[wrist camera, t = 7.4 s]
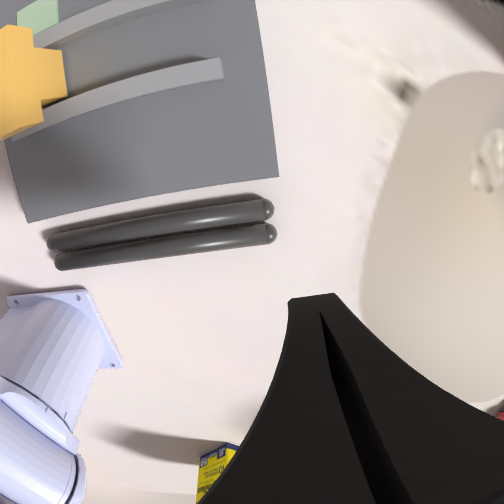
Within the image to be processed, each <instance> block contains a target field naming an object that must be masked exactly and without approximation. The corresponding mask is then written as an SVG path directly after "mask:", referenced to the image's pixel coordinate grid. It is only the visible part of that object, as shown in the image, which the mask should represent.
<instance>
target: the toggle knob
mask: <svg viewBox="0 0 504 504" xmlns="http://www.w3.org/2000/svg"><path fill="white" fill-rule="evenodd" d="M66 97H68V94H67V87H66V81H65V74H64V66H63V58H62V51H60V50H53V49H44V48H34V44H33V30H32V28H28V27H21V26H15V25H8V24H7V25H6V26H4V27H3V28H1V29H0V141H3V140H5V139H7V138H9V137H11V136H13V135H15V134H17V133H19V132H21V131H24V130H26V129H28V128H30V127H32V126H35V125H37V124H39V123H41V122H44V118H43V113H42V107H44V106H47V105H49V104H51V103H54V102H56V101H58V100H61V99H63V98H66Z"/></svg>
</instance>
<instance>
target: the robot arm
mask: <svg viewBox="0 0 504 504" xmlns="http://www.w3.org/2000/svg"><path fill="white" fill-rule="evenodd" d="M77 295H78V296H80V297H78V296H77ZM6 303H7V305H8V307H9V308H10V309H9V310H8V311H7V312H6V314H5V315H4V316H3V317H2V319H1V320H0V504H81V502H82V500H83V497H84V494H85V490H86V483H87V475H86V467H85V463H84V460H83V458H82V457H81V455H79V454H78V453H77V449H78V446H79V443H80V440H79V439H77V438H76V437H75V436H74V435H73V432H74V429H75V426H76V424H77V421H78V418H79V416H80V413H81V410H82V408H83V405H84V403H85V400H86V397H87V395H88V392H89V390H90V387H91V385H92V383H93V380H94V378H95V375H96V373H97V371H98V368H113V369H120V368H122V367H123V364H124V363H123V361H122V359H121V357H120V355H119V353H118V351H117V349H116V347H115V345H114V344H113V342H112V340H111V338H110V336H109V334H108V332H107V330H106V328H105V326H104V323H103V321H102V319H101V317H100V315H99V313H98V311H97V309H96V306H95V304H94V302H93V300H92V298H91V295H90V293H89V292H88V291H87V290H85V289H77V290H67V291H56V292H46V293H35V294H24V295H12V296H8V297H7V298H6ZM197 504H504V421H503V420H501V419H498V418H496V417H494V416H492V415H489V414H487V413H485V412H483V411H481V410H479V409H477V408H475V407H473V406H471V405H469V404H467V403H466V402H464V401H462V400H460V399H459V398H457V397H455V396H453V395H452V394H450V393H448V392H447V391H445V390H443V389H441V388H440V387H438V386H437V385H435V384H434V383H432V382H431V381H429V380H428V379H427V378H425V377H424V376H423V375H421V374H420V373H418V372H417V371H416V370H414V369H413V368H412V367H410V366H409V365H408V364H407V363H406V362H404V361H403V360H402V359H401V358H399V357H398V356H397V355H396V354H395V353H394V352H393V351H391V350H390V349H389V348H388V347H387V346H386V345H385V344H384V343H383V342H381V341H380V340H379V339H378V338H377V337H376V336H375V335H374V334H373V333H372V332H371V331H370V330H369V329H368V328H367V327H366V326H365V325H364V324H363V323H362V322H361V321H360V320H359V319H358V318H357V317H356V316H355V315H354V314H353V313H352V312H351V310H350V309H349V308H348V307H347V306H346V305H345V304H344V303H343V302H342V300H341V299H340V298H339V297H338V296H337V295H336V294H335V293H328V294H321V295H314V296H307V297H300V298H292V299H290V300H289V301H288V323H287V330H286V335H285V339H284V344H283V348H282V352H281V356H280V359H279V362H278V365H277V368H276V371H275V374H274V377H273V380H272V382H271V385H270V387H269V390H268V392H267V395H266V397H265V399H264V401H263V404H262V406H261V408H260V410H259V412H258V414H257V416H256V418H255V420H254V422H253V424H252V425H251V427H250V429H249V431H248V433H247V435H246V436H245V438H244V440H243V441H242V443H241V445H240V446H239V448H238V449H237V451H236V452H235V454H234V455H233V457H232V458H231V460H230V461H229V463H228V464H227V466H226V467H225V469H224V470H223V471H222V473H221V474H220V476H219V477H218V478H217V480H216V481H215V482H214V484H213V485H212V486H211V487H210V489H209V490H208V491H207V492H206V493H205V495H204V496H203V497H202V498H201V499H200V500H199V501H198V503H197Z"/></svg>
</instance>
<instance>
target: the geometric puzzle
mask: <svg viewBox="0 0 504 504" xmlns="http://www.w3.org/2000/svg"><path fill="white" fill-rule="evenodd" d="M501 410H502V409H501ZM497 413H498V419H501V420H503V421H504V412H503V411H500V412H499V411H498V412H497Z"/></svg>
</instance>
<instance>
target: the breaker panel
mask: <svg viewBox="0 0 504 504" xmlns="http://www.w3.org/2000/svg"><path fill="white" fill-rule="evenodd" d="M7 24H8V25H15V26H21V27H28V28H32V30H33V44H34V48H44V49H53V50H60V51H62V58H63V66H64V74H65V81H66V87H67V94H68V97H66V98H63V99H61V100H58V101H56V102H54V103H51V104H49V105H47V106H44V107H42V113H43V118H44V122H41V123H39V124H37V125H35V126H32V127H30V128H28V129H26V130H24V131H21V132H19V133H17V134H15V135H13V136H11V137H9V138H7V139H5V145H6V149H7V154H8V158H9V162H10V166H11V170H12V174H13V177H14V181H15V185H16V188H17V191H18V195H19V198H20V201H21V204H22V208H23V211H24V214H25V217H26V220H27V222H28V223H32V222H36V221H40V220H44V219H48V218H52V217H56V216H60V215H64V214H69V213H73V212H77V211H82V210H86V209H90V208H95V207H100V206H104V205H109V204H114V203H119V202H124V201H129V200H134V199H139V198H144V197H149V196H155V195H160V194H166V193H172V192H178V191H183V190H189V189H196V188H202V187H208V186H215V185H222V184H228V183H235V182H243V181H250V180H258V179H266V178H274V177H279V172H278V163H277V155H276V146H275V138H274V130H273V122H272V114H271V107H270V99H269V92H268V84H267V77H266V70H265V63H264V56H263V49H262V43H261V36H260V30H259V23H258V17H257V11H256V5H255V0H0V29H1V28H3V27H4V26H6V25H7ZM273 213H274V206H273V204H272V202H270V201H269V200H267V199H257V200H249V201H242V202H235V203H227V204H220V205H213V206H207V207H200V208H193V209H187V210H180V211H174V212H168V213H162V214H156V215H150V216H144V217H138V218H133V219H127V220H122V221H116V222H111V223H105V224H100V225H95V226H90V227H85V228H80V229H75V230H70V231H65V232H60V233H55V234H52V235H50V236H49V237H48V239H47V247H48V249H49V250H51V251H53V252H56V251H62V250H68V249H74V248H79V247H85V246H91V245H97V244H103V243H110V242H116V241H122V240H128V239H135V238H141V237H148V236H154V235H161V234H168V233H174V232H181V231H188V230H195V229H202V228H210V227H217V226H224V225H232V224H239V223H247V222H254V221H262V220H267V219H269V218H271V217H272V215H273ZM276 237H277V231H276V229H275V227H274V226H273V225H271V224H268V223H265V224H257V225H249V226H241V227H234V228H226V229H219V230H211V231H204V232H197V233H190V234H183V235H176V236H169V237H162V238H155V239H149V240H142V241H135V242H129V243H122V244H116V245H110V246H103V247H97V248H91V249H85V250H79V251H73V252H67V253H61V254H58V255H57V256H56V257H55V260H54V264H55V267H56V268H57V269H58V270H60V271H65V270H73V269H80V268H88V267H95V266H102V265H110V264H118V263H125V262H133V261H140V260H148V259H156V258H163V257H171V256H179V255H186V254H194V253H202V252H210V251H217V250H225V249H233V248H241V247H249V246H257V245H265V244H270V243H272V242H273V241H274V240H275V239H276Z"/></svg>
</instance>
